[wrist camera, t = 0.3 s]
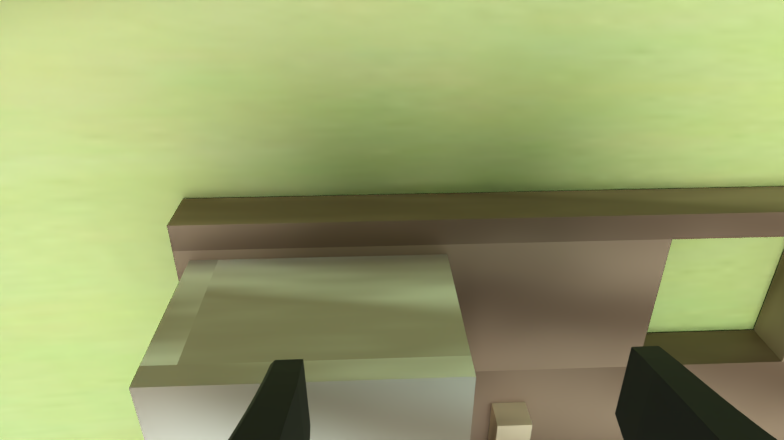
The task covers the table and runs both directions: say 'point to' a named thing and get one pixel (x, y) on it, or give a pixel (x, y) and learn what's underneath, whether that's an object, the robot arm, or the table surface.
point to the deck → (446, 310)
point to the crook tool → (509, 422)
